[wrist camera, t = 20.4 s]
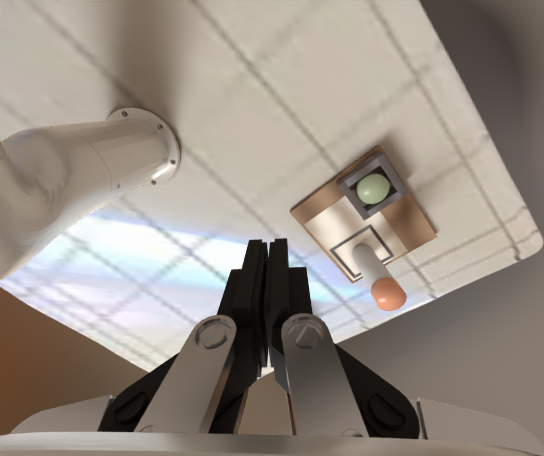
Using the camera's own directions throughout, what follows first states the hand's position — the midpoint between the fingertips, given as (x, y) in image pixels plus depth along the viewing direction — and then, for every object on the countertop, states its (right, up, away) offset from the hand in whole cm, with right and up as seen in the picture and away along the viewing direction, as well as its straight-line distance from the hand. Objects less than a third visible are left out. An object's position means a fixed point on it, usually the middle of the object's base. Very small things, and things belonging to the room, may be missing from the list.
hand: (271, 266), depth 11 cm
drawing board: (+17, +3, +34) cm, 38 cm away
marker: (+18, -3, +35) cm, 40 cm away
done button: (+16, +9, +29) cm, 34 cm away
